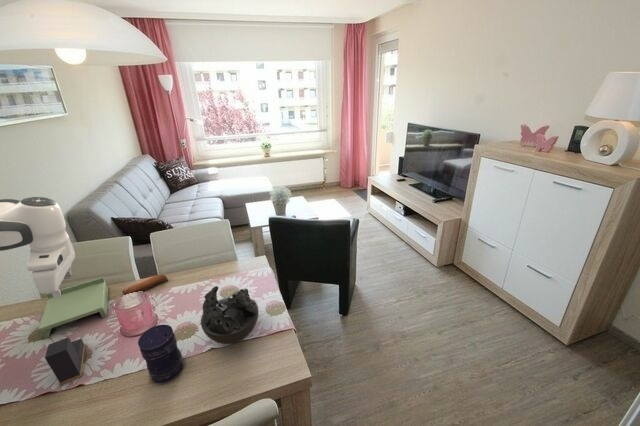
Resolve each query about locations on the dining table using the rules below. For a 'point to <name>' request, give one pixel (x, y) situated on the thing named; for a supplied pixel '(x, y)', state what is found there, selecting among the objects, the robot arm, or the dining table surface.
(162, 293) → the dining table surface
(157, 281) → the brown rounded bar
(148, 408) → the dining table surface
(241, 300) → the bowl of black rocks
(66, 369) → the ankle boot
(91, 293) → the sage green riser
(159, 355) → the storage jar
